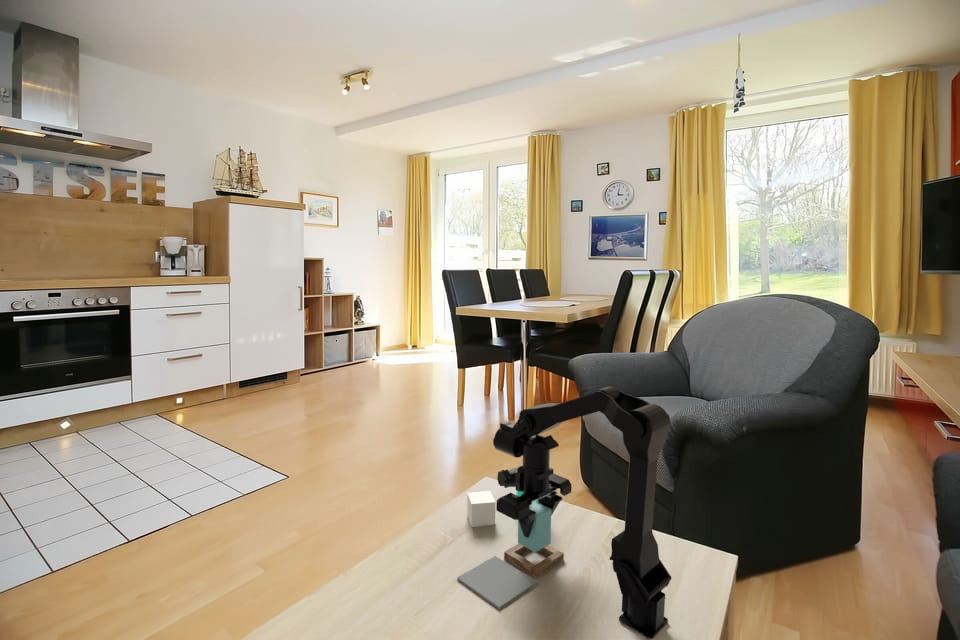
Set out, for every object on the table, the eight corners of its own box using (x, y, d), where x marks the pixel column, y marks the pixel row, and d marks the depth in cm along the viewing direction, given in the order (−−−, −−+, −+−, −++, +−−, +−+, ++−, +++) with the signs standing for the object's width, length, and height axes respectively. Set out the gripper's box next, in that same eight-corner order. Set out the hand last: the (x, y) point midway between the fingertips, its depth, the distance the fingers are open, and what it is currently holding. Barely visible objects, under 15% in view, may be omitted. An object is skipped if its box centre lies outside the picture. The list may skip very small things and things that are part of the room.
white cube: (489, 513, 130) (490, 490, 129) (495, 525, 124) (495, 502, 123) (467, 515, 129) (467, 492, 128) (471, 527, 123) (471, 504, 122)
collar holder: (563, 559, 110) (563, 553, 109) (536, 577, 103) (536, 571, 103) (531, 542, 116) (531, 536, 116) (504, 558, 110) (504, 551, 110)
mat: (537, 583, 101) (537, 581, 101) (499, 609, 94) (499, 607, 94) (495, 558, 110) (495, 555, 110) (457, 579, 102) (457, 577, 102)
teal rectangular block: (550, 543, 109) (551, 508, 108) (535, 552, 106) (536, 516, 105) (532, 534, 113) (533, 500, 112) (517, 542, 109) (518, 508, 108)
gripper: (535, 442, 119) (534, 504, 121) (478, 464, 107) (477, 533, 108) (573, 456, 111) (571, 522, 113) (517, 481, 99) (515, 555, 100)
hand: (534, 532), depth 109 cm, fingers closed on teal rectangular block, 5 cm apart
